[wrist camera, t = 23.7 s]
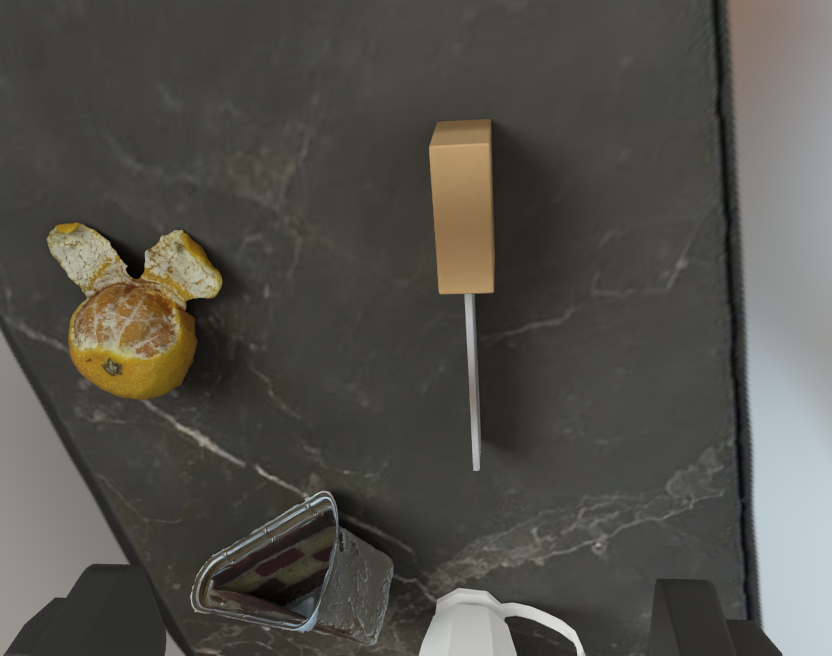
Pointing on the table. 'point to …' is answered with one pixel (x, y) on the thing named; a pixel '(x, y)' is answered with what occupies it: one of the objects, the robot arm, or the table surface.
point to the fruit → (133, 310)
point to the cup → (481, 625)
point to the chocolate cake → (300, 576)
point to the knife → (464, 229)
